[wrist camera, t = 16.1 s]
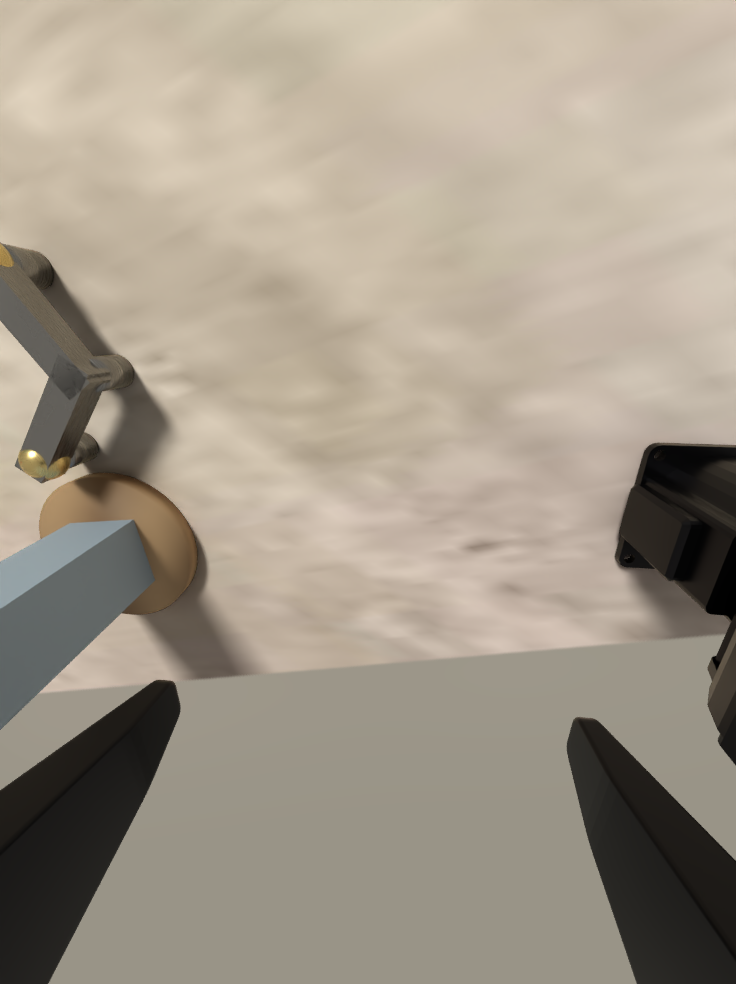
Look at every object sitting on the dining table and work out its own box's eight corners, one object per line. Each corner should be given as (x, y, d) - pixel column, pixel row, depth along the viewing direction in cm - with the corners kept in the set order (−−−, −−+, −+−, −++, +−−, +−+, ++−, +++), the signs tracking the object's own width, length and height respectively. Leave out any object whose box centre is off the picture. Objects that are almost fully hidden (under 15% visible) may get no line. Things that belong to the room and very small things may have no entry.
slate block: (133, 519, 22) (-149, 709, 11) (155, 580, 23) (-75, 802, 12) (69, 523, 23) (-261, 707, 11) (94, 582, 24) (-178, 797, 13)
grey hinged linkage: (110, 244, 18) (44, 224, 15) (156, 466, 22) (111, 489, 18) (10, 245, 18) (-77, 226, 15) (72, 462, 22) (14, 484, 19)
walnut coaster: (184, 475, 22) (173, 482, 21) (207, 609, 25) (199, 619, 24) (34, 469, 23) (18, 475, 22) (76, 599, 26) (64, 608, 25)
